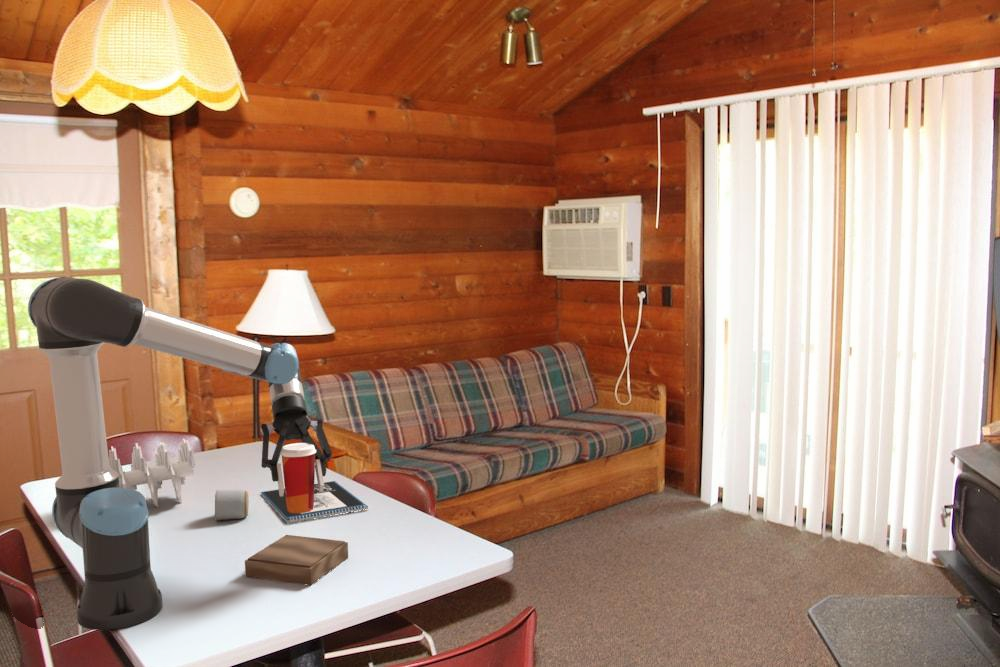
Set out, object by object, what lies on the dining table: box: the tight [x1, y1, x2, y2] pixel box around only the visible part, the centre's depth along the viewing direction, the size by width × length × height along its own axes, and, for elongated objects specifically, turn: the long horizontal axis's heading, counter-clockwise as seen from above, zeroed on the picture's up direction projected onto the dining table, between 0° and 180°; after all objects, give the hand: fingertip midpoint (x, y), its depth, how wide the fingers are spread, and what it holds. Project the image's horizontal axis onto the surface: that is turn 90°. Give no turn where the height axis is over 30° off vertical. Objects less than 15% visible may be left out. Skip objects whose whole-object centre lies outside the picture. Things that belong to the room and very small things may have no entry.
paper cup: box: [280, 442, 316, 513], centre depth 184 cm, size 8×8×14 cm
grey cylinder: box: [214, 489, 250, 521], centre depth 221 cm, size 11×8×8 cm
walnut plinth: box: [244, 534, 349, 586], centre depth 186 cm, size 16×16×4 cm
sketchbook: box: [260, 480, 369, 525], centre depth 232 cm, size 22×30×2 cm
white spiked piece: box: [108, 438, 196, 508], centre depth 229 cm, size 18×18×25 cm
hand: (302, 490), depth 181 cm, fingers closed on paper cup, 8 cm apart
